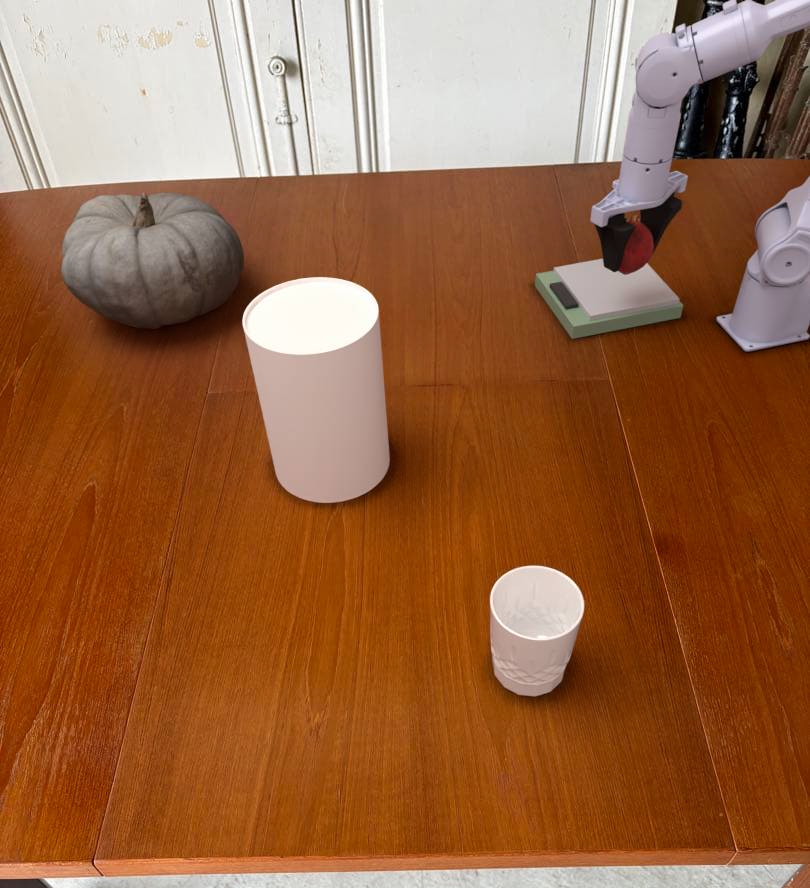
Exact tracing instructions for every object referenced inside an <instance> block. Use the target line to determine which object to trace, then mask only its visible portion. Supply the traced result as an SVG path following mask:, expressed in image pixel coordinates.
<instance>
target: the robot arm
mask: <svg viewBox="0 0 810 888" xmlns="http://www.w3.org/2000/svg"><path fill="white" fill-rule="evenodd" d="M809 27H810V0H773V1H772V2H769V3H767V4H762V3H758V2H756V1H754V0H744V1H742V2H739V3H737V0H728V1H726V2H724V3H722V10H721V11H719V12H717V13H714V14H712V15H710V16H708V17H706V18H703V19H701V20H699V21H697V22H695V23H692V24H691V25H688V26H686V23H682V24H680V25H677V26H676V27H675V32H671V33H669V32H661V33H657V34H656V35H654V36H652V37H651V38H649V39H648V40H647V41H645V44H644V45H643V46H642V47H641V48H640V50H639V52H638V55H637V57H636V58H635V59H634V60H635V61H634V69H635V90H634V92H633V94H632V99H631V106H632V107H631V108H630V110H629V113H628V117H627V118H628V119H627V125H626V131H625V138H624V144H623V149H622V156H621V157H622V158H621V163H620V170H619V177H618V179H615V180H613V181H612V188H613V189H612V190H611V191H610V192H609V193H608V194H607V195H606V196H604V198H603V199H602V200H601V201H600V202H597V203H595V204H594V205H592V207H591V212H590V219H589V222H590V223H593V225H594V227H595V230H596V233H597V235H598V238H599V242H600V246H601V255H602V259H603V264H604V267H605V268H607V269H609V270H611V271H612V272H617V271H618V270H619V268H620V266H621V263H622V259H623V255H624V251H625V248H626V245H627V243H628V240H629V238H630V236H631V235H632V233H633V231H634V230H635V228H636V226H634V225H632V224H630V223H628V222H629V221H627V219H628V218H627V217H625V215H626V214H627V213H632V212H636V211H637V212H638V211H639V216H640V217H641V219H640V222H641V223H643V224H644V225H645V226H646V227H647V228H648V229H649V230H650V232H651V234H652V237H653V243H654V249H653V254H652V256H653V255H654V253H655V252H656V250H657V247H658V245H659V243H660V241H661V239H662V237H663V235H664V234H665V231H667V228H668V226H669V225H670V224H671V222H672V220H673V219H674V217H676V216H677V214H678V213H679V212H680V211H681V210H682V207H683V200H682V199H680V198H678V197H676V196H675V193H678V194H681V193H683V192H685V191H686V187H687V185H688V184H687V183H688V178H689V176H688V175H687V174H685V173H683V172H681V171H678V170H674V171H672V172H670V171H671V168H672V167H671V166H672V162H673V157H674V152H675V146H676V142H677V138H678V132H679V128H680V122H681V117H682V113H681V107H682V103H683V99H684V98H685V97H686V96H687V94H688V93H689V91H690V89H691V88H692V87H693V86H697V85H700V84H703V83H704V82H705V83H706V82H708V81H709V80H712V79H715V78H717V77H720V76H723V75H724V74H727V73H729V72H732V71H734V70H737V69H739V68H742V67H744V66H746V65H748V64H751V63H753V62H756V61H758V60H760V59H761V58H762V57H763V55H764V53H765V51H766V50H767V48H768V46H769V45H770V44H771V43H772V42H773V41H774V40H778V39H779V38H783V37H785V36H787V35H790V34H793V33H796V32H798V31H801V30H804V29H807V28H809ZM754 237H755V240H756V243H757V249H756V250H755V252H754V253H753V255H751V257H750V258H749V259H748V261H747V263H746V268H745V271H744V274H743V277H742V280H741V284H740V287H739V291H738V294H737V297H736V301H735V304H734V307H733V310H732V313H728V314H724V315H718V316H716V318H715V321H716V322H717V323H718V324H719V326H721V328H722V329H723V330H724V331H725V332H726V333H727V334H728V335H729V336H730V337H731V338H732V339H733V340H734V341H735V343H736V344H737V345H738V346H739V347H740V348H741V349H742V350H743V351H744V352H753V351H754V352H755V351H759V350H763V349H768V348H773V347H778V346H782V345H786V344H787V345H789V344H793V343H797V342H801V341H807V340H809V339H810V334H809V333H808V329H809V327H810V175H809V176H808V177H807V179H806V180H805V182H804V183H802V185H800V186H797V187H795V188H793V189H790V190H789V191H787V193H786V194H785V196H784V197H783V198H782V199H781V200H780V201H779V202H778V203H776V204H775V205H773V206H771V207H770V208H768V209H766V211H764V212H763V213H762V214H761V215H760V216H759V218H758V219H757V221H756V224H755V227H754Z"/></svg>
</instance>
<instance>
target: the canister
mask: <svg viewBox="0 0 810 888" xmlns="http://www.w3.org/2000/svg"><path fill="white" fill-rule="evenodd" d="M241 322H242V328H243V332H244V338H245V342H246V346H247V350H248V356H249V360H250V365H251V368H252V369H251V370H252V374H253V378H254V382H255V386H256V391H257V395H258V400H259V405H260V409H261V414H262V418H263V423H264V427H265V432H266V437H267V441H268V445H269V449H270V454H271V458H272V464H273V466H274V472H275V476H276V478H277V481H278V482H279V484H280V485H281V486H282V488H283V489H284V490H286V491H287V492H288V493H290V494H291V495H293V496H294V497H296V498H299V499H301V500H304V501H308V502H313V503H319V504H320V503H321V504H332V503H340V502H346V501H350V500H353V499H355V498H359V497H361V496H363V495H364V494H367V493H368V492H370V491H371V490H373V489H374V488H375V487H376V486H377V485H379V483H381V481H382V480H384V477H385V476H386V474H387V472H388V471H389V467H390V462H391V461H390V460H391V457H390V444H389V431H388V421H387V420H388V418H387V417H388V416H387V405H386V404H387V402H386V390H385V379H384V376H385V375H384V366H383V365H384V364H383V351H382V349H383V348H382V337H381V326H380V325H381V324H380V310H379V304H378V302H377V299H376V298H375V296H374V295H373V294H372V293H371V292H370V291H369V290H368V289H366V288H364V287H363V286H361V284H357V283H356V282H355V283H354V282H352V281H349V280H345V279H341V278H335V277H328V276H327V277H326V276H324V277H323V276H319V277H317V276H315V277H314V276H313V277H306V278H305V277H304V278H297V279H293V280H288V281H286V282H285V281H284V282H282V283H279V284H277V285H274V286H272V287H270V288H268V289H266V290H264V291H263V292H260V293H259V294H258V295H257V296H256V297H254V298H253V299H252V300H251V301H250V302H249V304H248V305H247V306H246V308H245V310H244V312H243V316H242V321H241Z"/></svg>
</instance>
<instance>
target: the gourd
mask: <svg viewBox="0 0 810 888" xmlns="http://www.w3.org/2000/svg"><path fill="white" fill-rule="evenodd" d="M61 252H62V261H61V267H60V270H61V271H60V273H61V277H62V280H63V282H64V285H65V286H66V287H67V289H68V290H69V292H70V293H71V294H72V295H73V296H74V297H75V298H76V299H77V300H78V301H79V302H80V303H81V304H82V305H84V306H85V307H87V308H89V309H91V310H92V311H94V312H95V313H96V314H98V315H99V316H102V317H104V318H105V319H108V320H110V321H111V320H112V321H115V322H117V323H120V324H122V325H125V326H129V327H133V328H136V329H151V330H152V329H153V330H155V329H159V328H161V327H163V326H169V325H176V324H183V323H186V322H189V321H190V320H192V319H194V318H196V317H199V316H204V315H205V314H207V313H208V312H210V311H213V310H216V309H217V308H219V307H220V306H222V305H223V304H224V303H225V302H226V301H227V300H228V299H229V298H230V297H231V295H232V294H233V293H234V291H235V290H236V288H237V286H238V284H239V281H240V279H241V276H242V273H243V270H244V262H245V261H244V260H245V255H244V249H243V244H242V242H241V239H240V237H239V235H238V233H237V232H236V230H235V228H234V227H233V226H232V225H231V224H230V223H229V222H228V221H226V219H225V218H224V216H223V215H222V214H221V213H220V212H219V210H217V209H216V208H214V207H213V206H211V205H210V204H208V203H206V202H205V201H203V200H202V199H199V198H198V197H195V196H188V195H185V194H183V193H180V192H157V193H153V194H150V195H147V194H146V192H141V194H140V195H130V194H125V193H121V194H117V195H112V194H102V195H98V196H96V197H94V198H92V199H89V200H88V201H85V202H84V203H82V204H81V206H80V207H79V209H78V211H77V213H76V215H75V216H74V219H73V220H72V223H71V225H70V226H69V227H68V229H67V230H66V232H65V235H64V237H63V241H62V249H61Z"/></svg>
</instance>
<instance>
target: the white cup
mask: <svg viewBox="0 0 810 888" xmlns="http://www.w3.org/2000/svg"><path fill="white" fill-rule="evenodd" d="M489 595H490V596H489V634H490V635H489V636H490V651H491V664H492V668H493V674H494V676H495V678H496V679H497V680H498V682H499V683H500V684H501V685H502V687H503V688H505V689H507V690H508V691H510V692H512V693H514V694H516V695H518V696H526V697H538V696H542V695H544V694H548V693H551V692H552V691H553V690H554V689H555V688H557V686H558V685H559V684H561V683H562V681H563V677H564V674H565V671H566V667H567V665H568V664H569V662H570V659H571V656H572V653H573V650H574V647H575V645H576V642H577V637H578V634H579V630H580V626H581V623H582V619H583V616H584V612H585V599H584V596H583V593H582V592H581V589H580V587H579V586H578V584H576V583H575V581H574V580H573V579H571V578H570V577H569V576H568V575H567V574H565V573H564V572H561V571H559V570H557V569H554V568H552V567H548V566H543V565H526V566H524V565H523V566H518V567H516V568H513V569H511V570H509V571H507V572H505V573H504V574H503V575H501V576H500V577H499V578H498V579H497V580H496V582H495V583H494V585H493V586H492V588H491V592H490V594H489Z"/></svg>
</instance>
